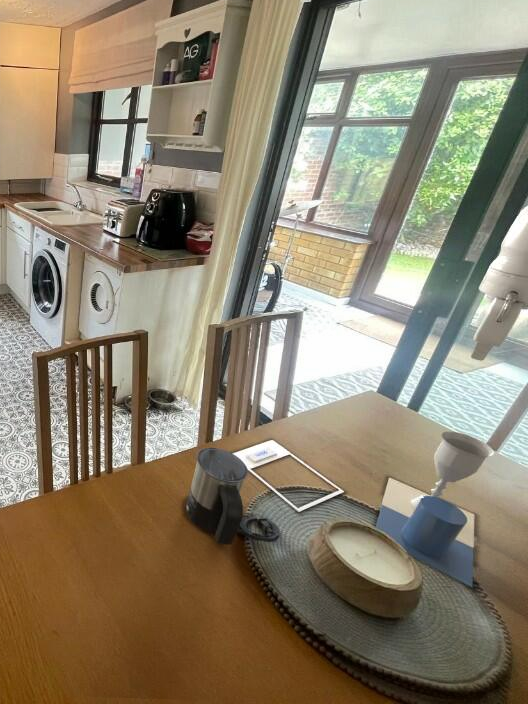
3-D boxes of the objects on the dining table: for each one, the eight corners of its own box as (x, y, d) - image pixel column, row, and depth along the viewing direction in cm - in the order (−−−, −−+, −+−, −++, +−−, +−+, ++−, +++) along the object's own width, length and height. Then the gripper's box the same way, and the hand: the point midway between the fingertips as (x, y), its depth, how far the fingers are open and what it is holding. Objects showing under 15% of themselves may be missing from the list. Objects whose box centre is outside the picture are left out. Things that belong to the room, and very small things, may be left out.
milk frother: (174, 502, 90) (187, 450, 83) (237, 490, 93) (254, 439, 86) (216, 563, 77) (234, 507, 71) (287, 547, 80) (311, 493, 74)
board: (387, 480, 96) (389, 477, 95) (472, 517, 86) (474, 514, 86) (371, 539, 82) (373, 536, 81) (470, 591, 73) (472, 587, 72)
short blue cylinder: (424, 527, 83) (444, 496, 79) (454, 557, 77) (477, 525, 73) (392, 527, 83) (411, 495, 79) (420, 557, 77) (441, 524, 74)
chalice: (442, 502, 89) (482, 438, 81) (456, 527, 83) (502, 460, 75) (399, 491, 91) (435, 427, 84) (411, 514, 86) (450, 448, 78)
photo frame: (272, 439, 106) (344, 490, 91) (271, 442, 107) (342, 494, 92) (230, 453, 101) (299, 511, 86) (229, 457, 102) (297, 514, 87)
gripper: (539, 305, 68) (497, 375, 74) (544, 280, 80) (507, 342, 86) (484, 294, 73) (449, 361, 78) (497, 272, 84) (465, 331, 90)
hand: (480, 351), depth 82 cm, fingers open, 8 cm apart
